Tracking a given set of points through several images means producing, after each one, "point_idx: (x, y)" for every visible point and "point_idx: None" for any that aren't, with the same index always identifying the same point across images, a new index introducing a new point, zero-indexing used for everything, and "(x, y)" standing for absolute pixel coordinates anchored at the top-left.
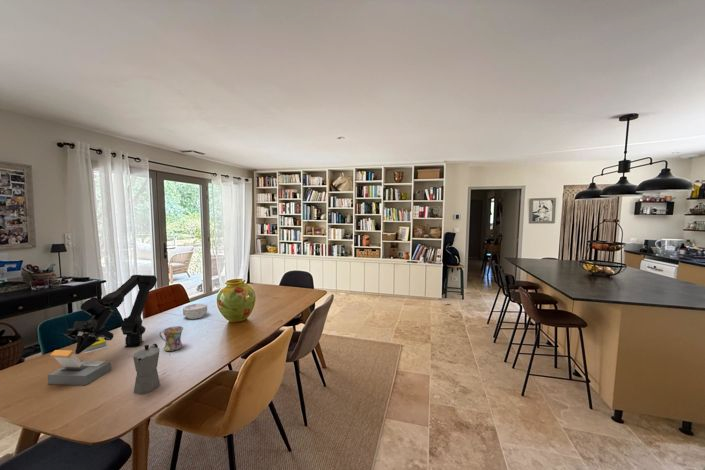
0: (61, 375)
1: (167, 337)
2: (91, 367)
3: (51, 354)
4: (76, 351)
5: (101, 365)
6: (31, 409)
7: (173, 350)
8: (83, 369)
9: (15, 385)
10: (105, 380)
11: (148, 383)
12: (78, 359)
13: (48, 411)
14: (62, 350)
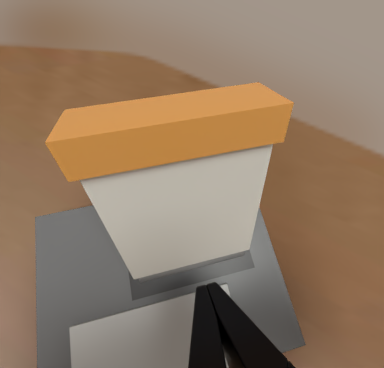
0: None
1: None
2: (99, 304)
3: (255, 86)
4: (214, 296)
5: (56, 352)
6: (103, 81)
7: None
8: (125, 268)
9: (331, 152)
10: (3, 286)
11: None
12: (117, 245)
13: (36, 85)
14: (194, 115)
